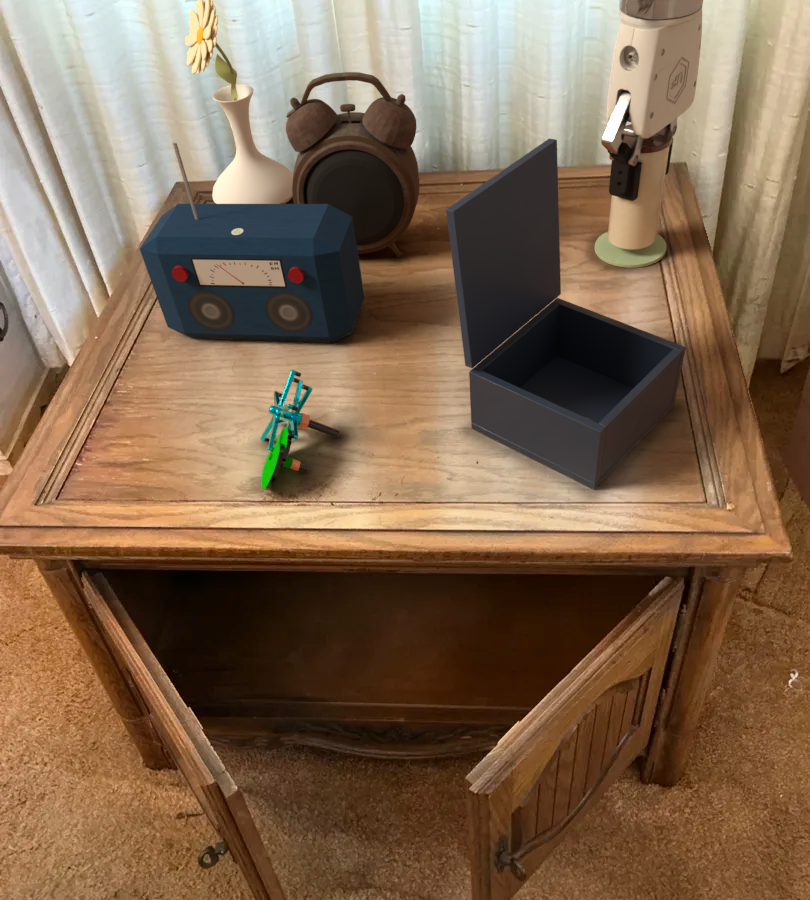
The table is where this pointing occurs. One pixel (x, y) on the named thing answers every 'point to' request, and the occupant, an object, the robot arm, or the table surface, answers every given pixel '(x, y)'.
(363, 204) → the alarm clock
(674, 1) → the robot arm
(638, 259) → the mat
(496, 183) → the lid
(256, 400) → the table surface
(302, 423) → the stick construction toy
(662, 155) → the jar
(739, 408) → the table surface
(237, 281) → the radio
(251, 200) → the flower in vase
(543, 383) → the chest
